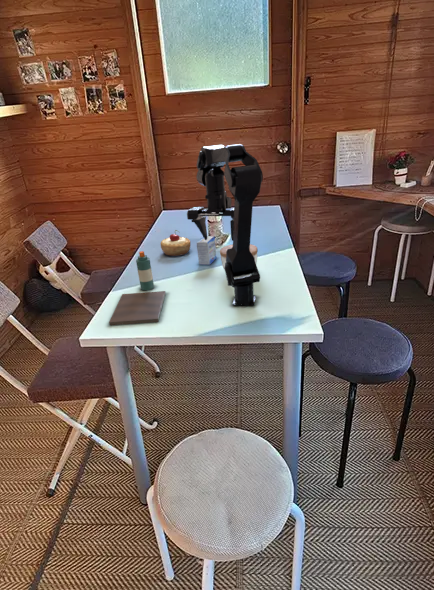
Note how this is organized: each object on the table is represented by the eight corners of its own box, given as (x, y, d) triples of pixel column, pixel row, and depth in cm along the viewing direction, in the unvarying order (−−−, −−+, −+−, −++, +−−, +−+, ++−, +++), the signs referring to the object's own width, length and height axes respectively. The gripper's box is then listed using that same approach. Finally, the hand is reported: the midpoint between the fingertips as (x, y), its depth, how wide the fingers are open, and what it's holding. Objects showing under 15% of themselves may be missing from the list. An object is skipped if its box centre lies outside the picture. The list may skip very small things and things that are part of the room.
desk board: (158, 322, 123) (157, 318, 123) (109, 325, 124) (108, 322, 123) (165, 293, 141) (165, 290, 140) (122, 296, 141) (122, 294, 141)
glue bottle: (151, 290, 144) (146, 254, 138) (139, 290, 145) (132, 254, 139) (155, 285, 148) (150, 249, 142) (143, 285, 149) (137, 249, 143)
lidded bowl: (249, 265, 157) (247, 235, 152) (264, 276, 147) (263, 244, 141) (216, 272, 154) (214, 242, 148) (230, 284, 143) (227, 252, 138)
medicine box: (209, 265, 161) (207, 242, 157) (198, 264, 162) (196, 242, 158) (216, 258, 167) (214, 236, 163) (205, 257, 169) (203, 235, 165)
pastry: (157, 257, 174) (153, 235, 170) (169, 247, 184) (166, 226, 179) (184, 258, 170) (181, 235, 166) (195, 248, 180) (193, 227, 176)
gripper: (251, 184, 137) (253, 233, 144) (197, 185, 143) (201, 232, 151) (241, 191, 128) (244, 243, 135) (183, 192, 134) (189, 242, 142)
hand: (219, 240), depth 141 cm, fingers open, 9 cm apart
